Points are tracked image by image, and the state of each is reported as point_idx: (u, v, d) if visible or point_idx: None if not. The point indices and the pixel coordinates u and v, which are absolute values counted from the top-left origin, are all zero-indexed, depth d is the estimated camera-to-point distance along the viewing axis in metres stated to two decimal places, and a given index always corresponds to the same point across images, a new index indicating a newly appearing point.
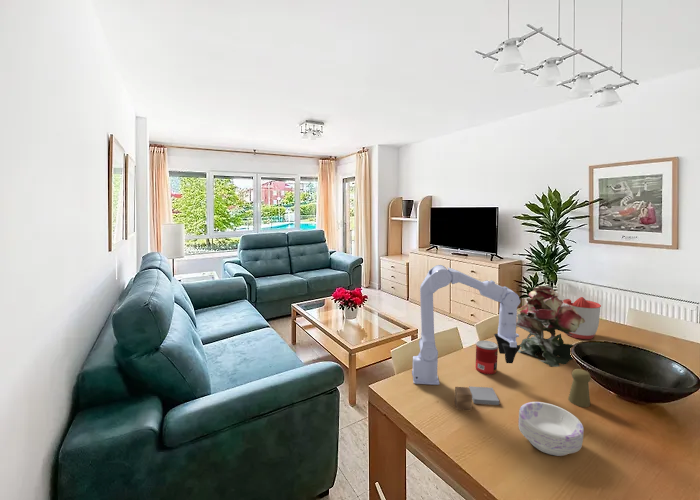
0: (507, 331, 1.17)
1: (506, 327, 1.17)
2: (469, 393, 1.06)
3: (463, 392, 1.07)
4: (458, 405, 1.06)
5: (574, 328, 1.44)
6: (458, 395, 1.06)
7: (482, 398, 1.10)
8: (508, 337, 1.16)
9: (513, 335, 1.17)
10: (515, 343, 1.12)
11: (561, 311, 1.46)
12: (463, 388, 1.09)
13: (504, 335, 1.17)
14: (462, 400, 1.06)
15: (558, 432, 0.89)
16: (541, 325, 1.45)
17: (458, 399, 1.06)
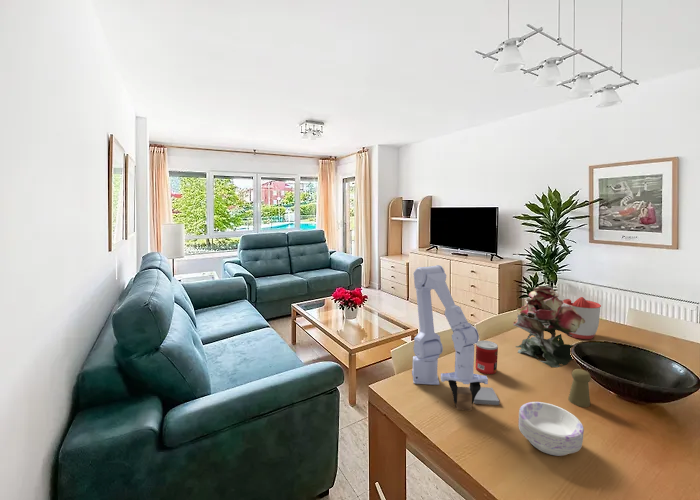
0: None
1: None
2: (469, 393, 1.06)
3: (463, 391, 1.07)
4: (458, 405, 1.06)
5: (574, 328, 1.43)
6: (458, 395, 1.06)
7: (482, 398, 1.10)
8: (454, 375, 1.08)
9: (457, 376, 1.06)
10: (441, 376, 1.08)
11: (561, 311, 1.46)
12: (463, 388, 1.09)
13: None
14: (462, 400, 1.06)
15: (558, 432, 0.89)
16: (541, 325, 1.44)
17: (458, 399, 1.06)
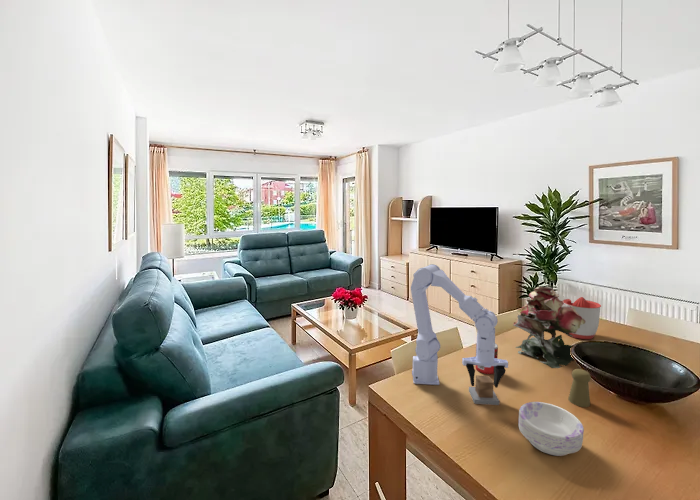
0: (476, 352, 1.13)
1: None
2: (490, 381, 1.11)
3: (485, 380, 1.12)
4: (480, 393, 1.11)
5: (575, 329, 1.43)
6: (480, 383, 1.10)
7: (482, 398, 1.10)
8: (475, 359, 1.12)
9: (478, 360, 1.10)
10: (463, 360, 1.12)
11: (561, 312, 1.45)
12: (484, 376, 1.14)
13: None
14: (483, 388, 1.10)
15: (558, 432, 0.89)
16: (541, 326, 1.44)
17: (480, 387, 1.10)
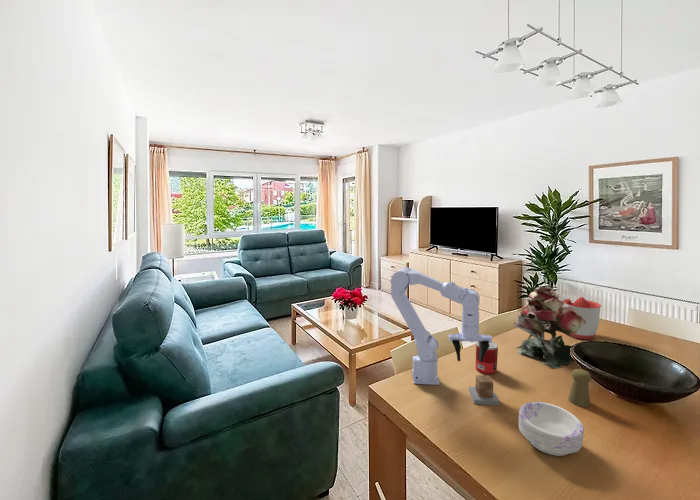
0: None
1: None
2: (490, 381, 1.11)
3: (485, 379, 1.12)
4: (480, 392, 1.11)
5: (575, 329, 1.42)
6: (480, 383, 1.10)
7: (482, 398, 1.10)
8: (461, 335, 1.18)
9: (463, 336, 1.16)
10: (449, 337, 1.18)
11: (562, 312, 1.45)
12: (484, 376, 1.14)
13: None
14: (483, 388, 1.11)
15: (558, 432, 0.89)
16: (542, 326, 1.43)
17: (480, 387, 1.11)
